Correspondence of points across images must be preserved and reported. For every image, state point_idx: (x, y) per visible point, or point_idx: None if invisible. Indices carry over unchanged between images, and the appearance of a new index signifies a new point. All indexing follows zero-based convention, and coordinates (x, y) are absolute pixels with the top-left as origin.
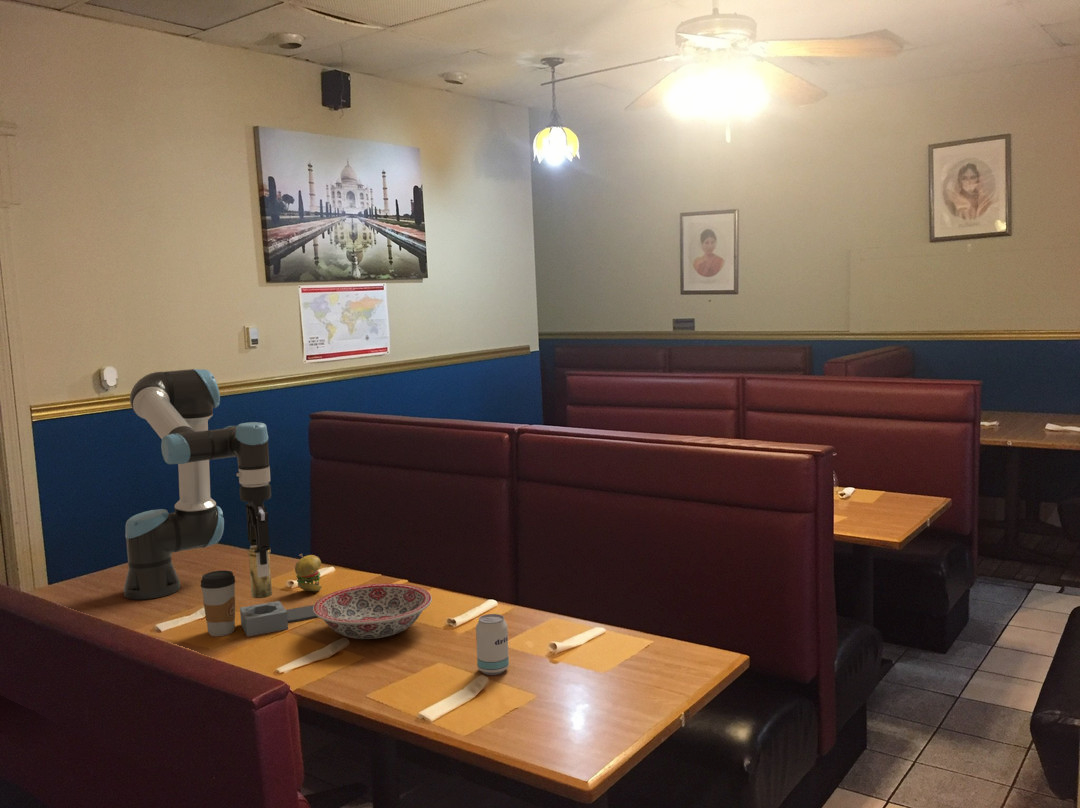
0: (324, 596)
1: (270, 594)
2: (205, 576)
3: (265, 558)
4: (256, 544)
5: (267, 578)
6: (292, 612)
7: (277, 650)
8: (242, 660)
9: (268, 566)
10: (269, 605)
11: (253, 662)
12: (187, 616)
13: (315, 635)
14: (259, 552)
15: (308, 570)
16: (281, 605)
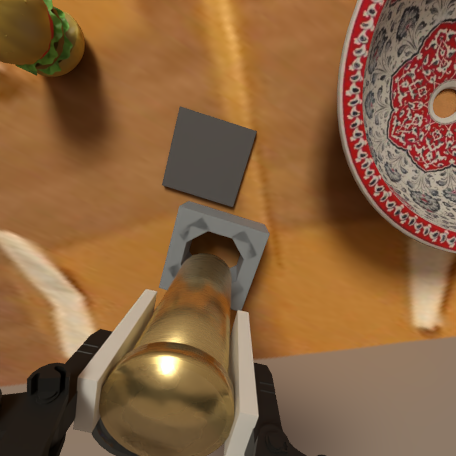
0: (352, 157)
1: (227, 266)
2: (116, 444)
3: (272, 398)
4: (74, 403)
5: (229, 300)
6: (192, 174)
7: (345, 289)
8: (333, 342)
9: (250, 338)
10: (193, 238)
11: (357, 336)
12: (59, 312)
13: (342, 205)
14: (245, 449)
15: (38, 30)
16: (216, 219)
